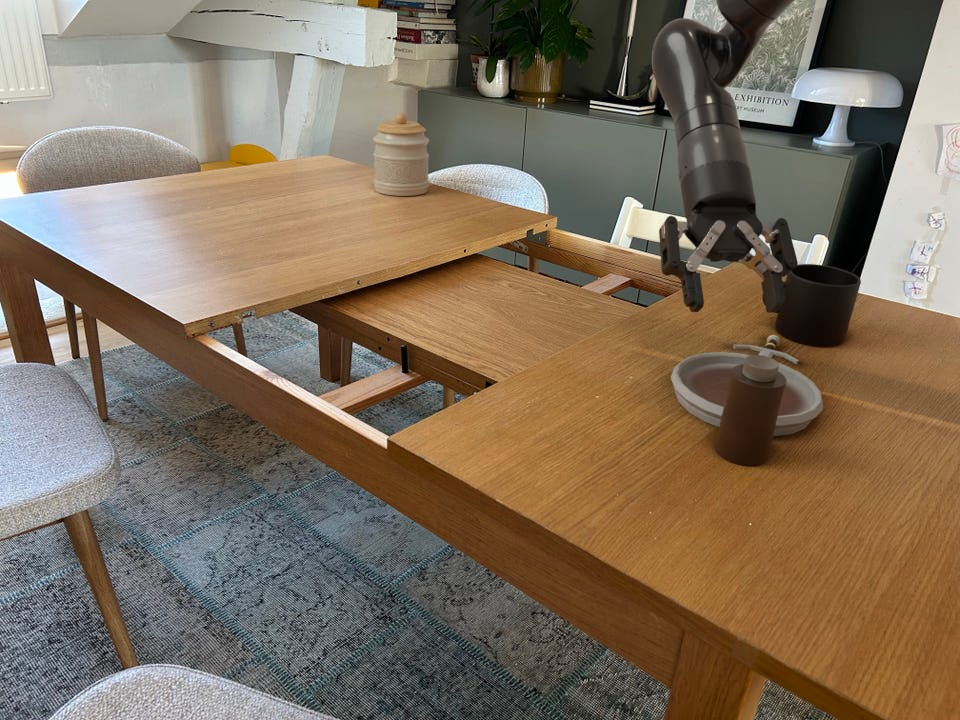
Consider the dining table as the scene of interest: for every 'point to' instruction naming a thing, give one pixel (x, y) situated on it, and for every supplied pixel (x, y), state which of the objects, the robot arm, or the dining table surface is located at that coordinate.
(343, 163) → the dining table surface
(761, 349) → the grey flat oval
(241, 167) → the dining table surface
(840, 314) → the mug
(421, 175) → the jar
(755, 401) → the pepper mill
